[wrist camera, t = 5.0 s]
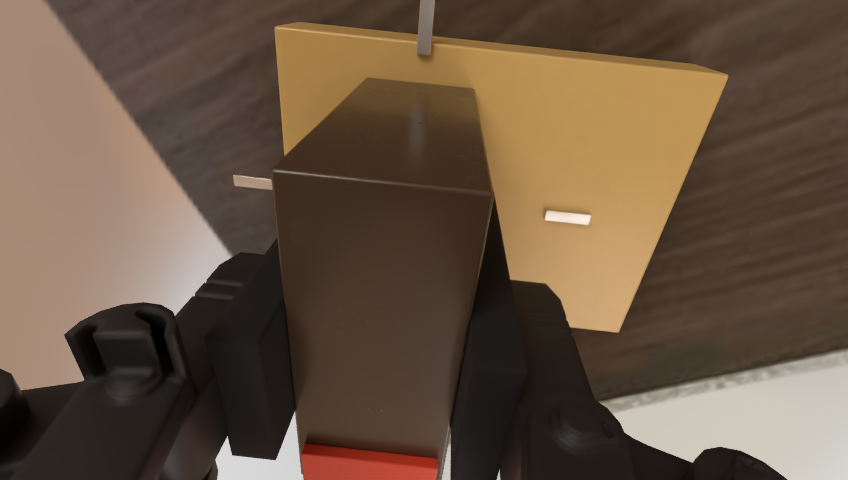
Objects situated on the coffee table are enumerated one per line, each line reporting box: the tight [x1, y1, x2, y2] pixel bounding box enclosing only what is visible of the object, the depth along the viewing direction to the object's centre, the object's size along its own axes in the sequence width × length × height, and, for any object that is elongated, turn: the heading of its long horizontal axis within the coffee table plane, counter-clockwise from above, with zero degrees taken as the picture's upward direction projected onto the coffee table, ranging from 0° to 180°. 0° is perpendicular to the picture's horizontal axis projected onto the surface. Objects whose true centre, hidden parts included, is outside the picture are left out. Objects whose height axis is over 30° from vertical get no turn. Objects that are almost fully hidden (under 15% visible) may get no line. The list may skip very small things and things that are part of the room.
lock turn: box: [271, 78, 494, 480], centre depth 10 cm, size 7×3×7 cm, turn 175°
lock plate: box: [233, 0, 728, 333], centre depth 14 cm, size 14×11×2 cm
